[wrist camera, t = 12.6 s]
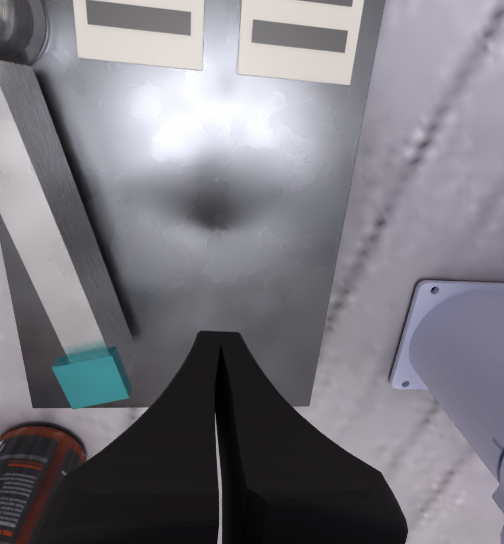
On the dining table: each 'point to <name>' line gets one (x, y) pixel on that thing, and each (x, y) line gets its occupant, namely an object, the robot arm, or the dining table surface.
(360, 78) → the tray
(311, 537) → the robot arm
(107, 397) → the bar
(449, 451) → the dining table surface
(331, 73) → the label
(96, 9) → the label
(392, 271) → the dining table surface
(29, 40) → the grey rounded cylinder
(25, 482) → the supplement bottle
